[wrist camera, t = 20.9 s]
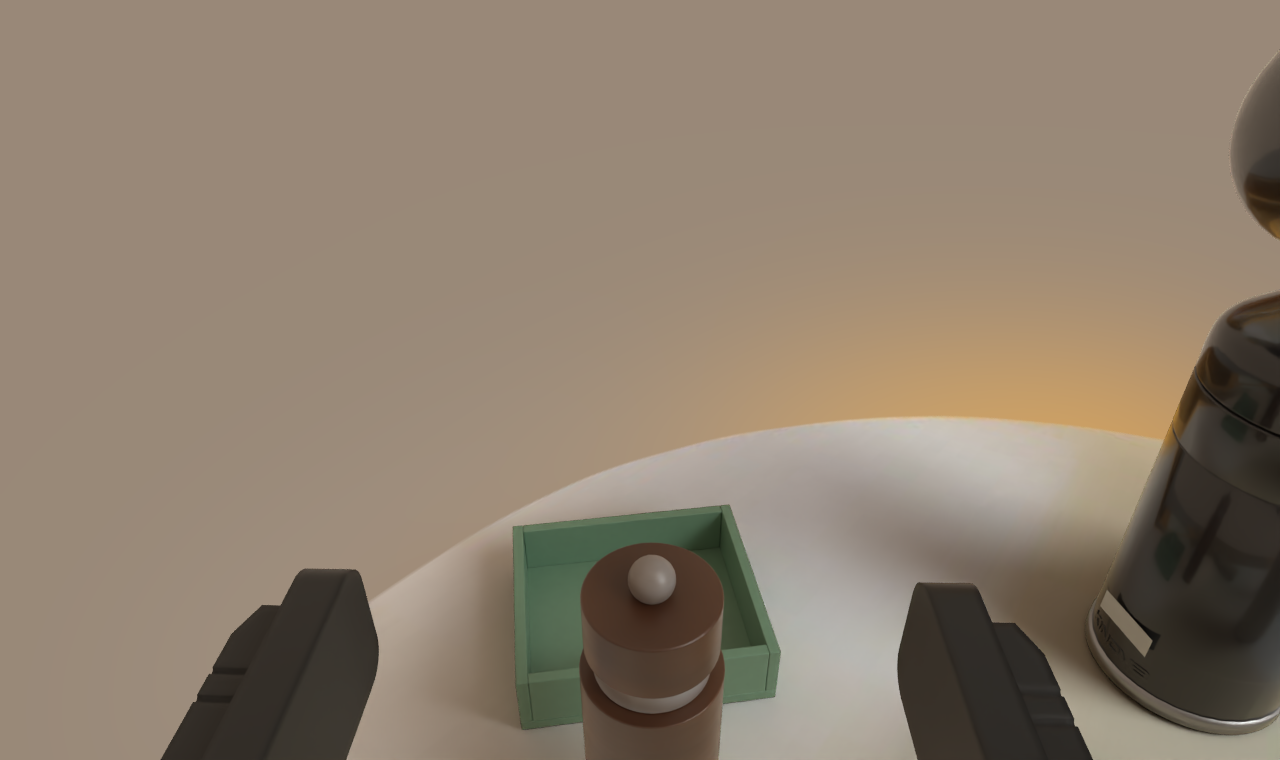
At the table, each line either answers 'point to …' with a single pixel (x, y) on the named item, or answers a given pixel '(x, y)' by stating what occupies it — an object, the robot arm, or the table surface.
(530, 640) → the green shallow open box
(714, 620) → the pepper mill
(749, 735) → the table surface
